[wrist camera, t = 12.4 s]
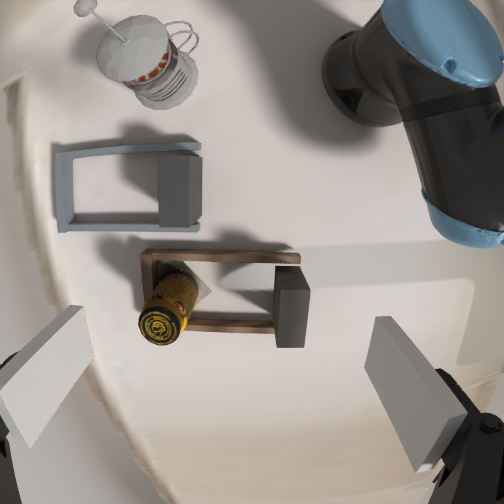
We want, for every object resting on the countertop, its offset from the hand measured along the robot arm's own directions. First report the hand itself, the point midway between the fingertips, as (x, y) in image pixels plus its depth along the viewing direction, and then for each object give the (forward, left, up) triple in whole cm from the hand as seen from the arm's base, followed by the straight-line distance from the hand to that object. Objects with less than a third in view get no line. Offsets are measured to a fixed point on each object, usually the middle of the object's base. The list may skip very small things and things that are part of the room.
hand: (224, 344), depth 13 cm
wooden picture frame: (+3, +10, -31) cm, 33 cm away
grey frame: (+17, -5, -31) cm, 36 cm away
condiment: (+10, +10, -32) cm, 35 cm away
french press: (+11, -21, -32) cm, 40 cm away
